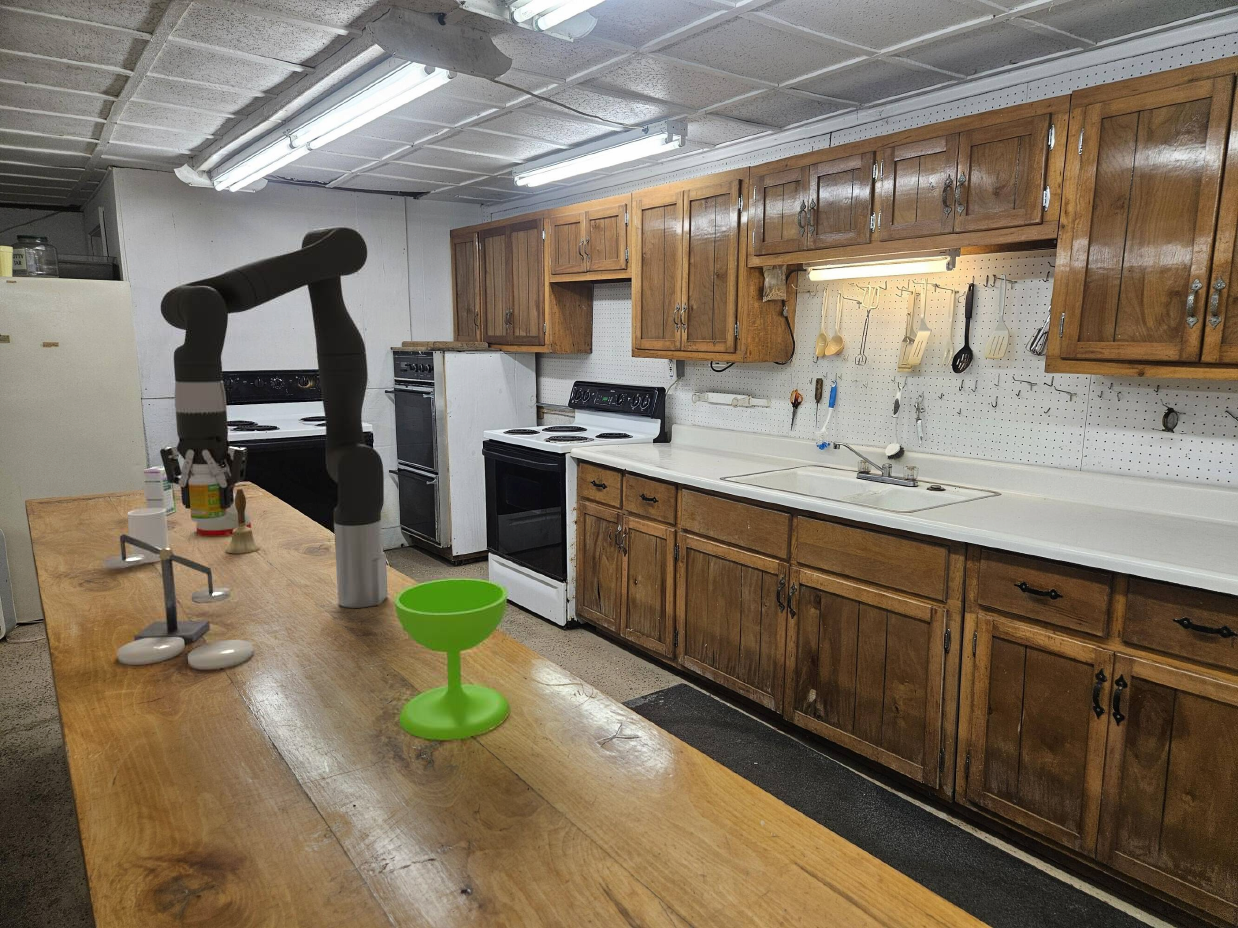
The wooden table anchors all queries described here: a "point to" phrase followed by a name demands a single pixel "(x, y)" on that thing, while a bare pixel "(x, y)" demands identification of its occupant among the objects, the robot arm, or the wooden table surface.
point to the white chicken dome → (223, 523)
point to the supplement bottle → (205, 495)
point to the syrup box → (158, 489)
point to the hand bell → (242, 530)
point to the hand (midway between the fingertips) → (208, 507)
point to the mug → (148, 530)
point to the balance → (170, 591)
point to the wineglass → (452, 654)
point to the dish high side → (150, 650)
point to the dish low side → (220, 654)
